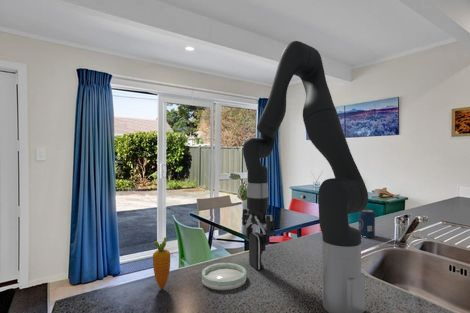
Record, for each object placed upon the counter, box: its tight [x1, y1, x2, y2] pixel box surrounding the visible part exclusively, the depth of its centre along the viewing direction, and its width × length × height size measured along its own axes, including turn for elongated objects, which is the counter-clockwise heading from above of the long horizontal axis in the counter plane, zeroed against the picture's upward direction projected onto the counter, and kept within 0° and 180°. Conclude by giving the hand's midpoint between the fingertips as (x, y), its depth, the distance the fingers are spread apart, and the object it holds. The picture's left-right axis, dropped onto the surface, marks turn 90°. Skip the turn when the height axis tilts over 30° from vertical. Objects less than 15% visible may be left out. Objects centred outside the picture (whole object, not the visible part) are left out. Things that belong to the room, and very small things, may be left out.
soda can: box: [358, 208, 376, 238], centre depth 133 cm, size 7×7×12 cm
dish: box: [201, 262, 248, 291], centre depth 89 cm, size 14×14×2 cm
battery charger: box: [248, 232, 267, 270], centre depth 99 cm, size 7×4×11 cm, turn 21°
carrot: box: [152, 236, 171, 290], centre depth 83 cm, size 5×5×15 cm
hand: (257, 241), depth 99 cm, fingers open, 8 cm apart
